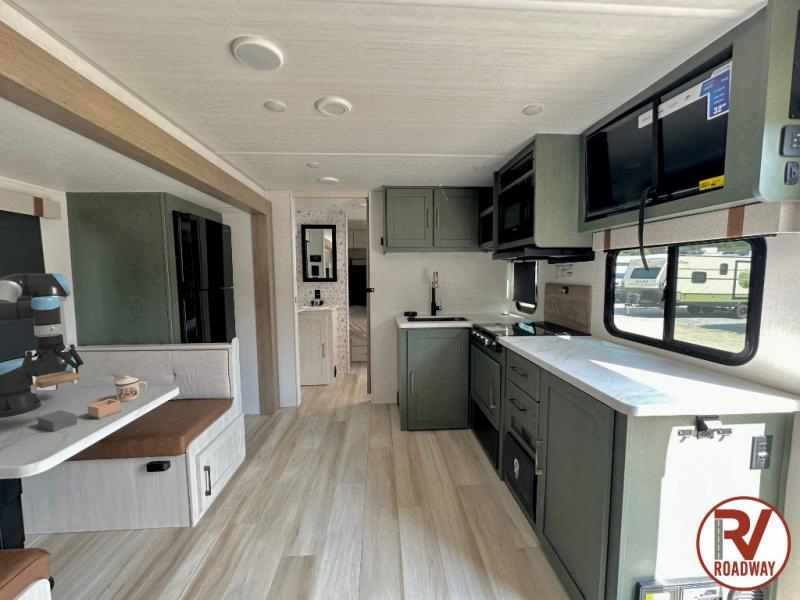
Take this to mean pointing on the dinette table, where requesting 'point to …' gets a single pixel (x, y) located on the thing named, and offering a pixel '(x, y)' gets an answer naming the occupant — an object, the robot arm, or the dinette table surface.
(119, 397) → the teacup with lid
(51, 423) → the gray rectangular block
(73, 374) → the lid
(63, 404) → the dinette table surface
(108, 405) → the pink hollow square box
